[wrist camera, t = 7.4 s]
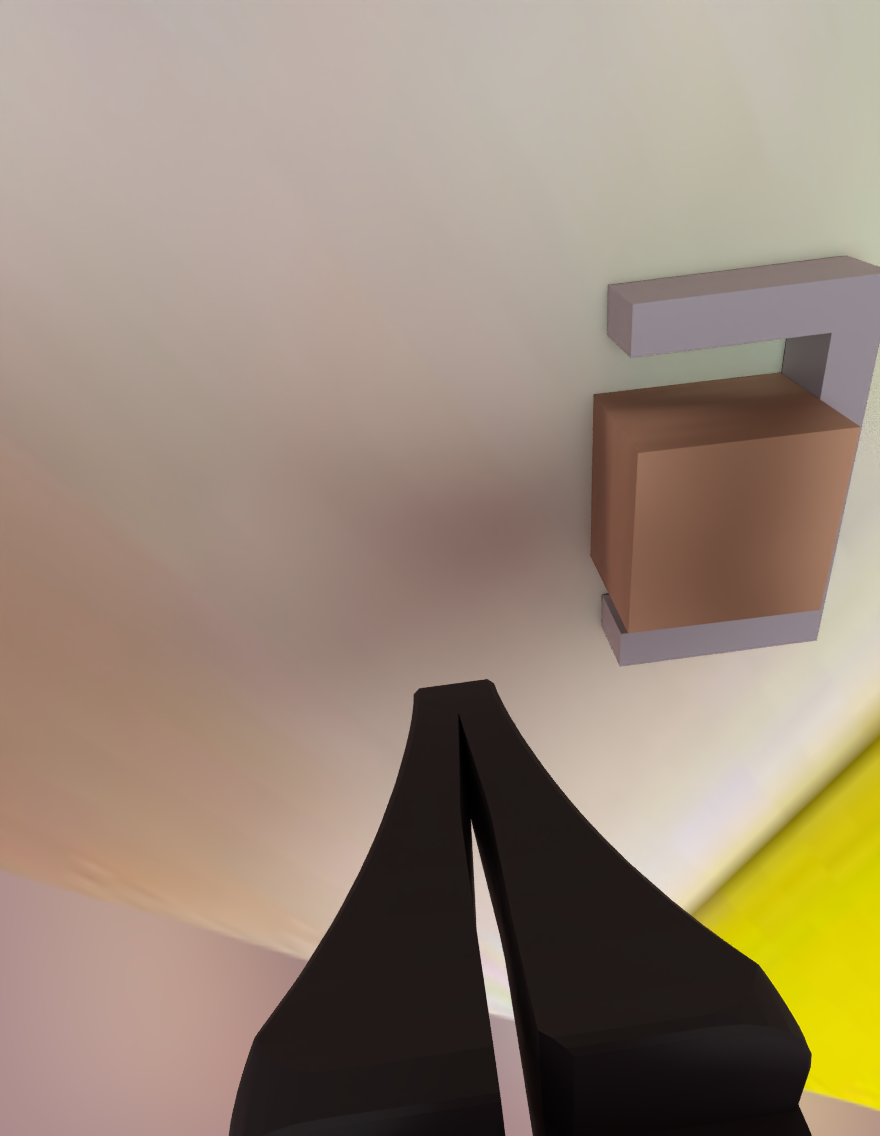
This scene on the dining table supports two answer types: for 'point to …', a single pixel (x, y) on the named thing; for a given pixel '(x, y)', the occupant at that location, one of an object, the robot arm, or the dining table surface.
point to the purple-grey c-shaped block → (812, 360)
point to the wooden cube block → (716, 499)
